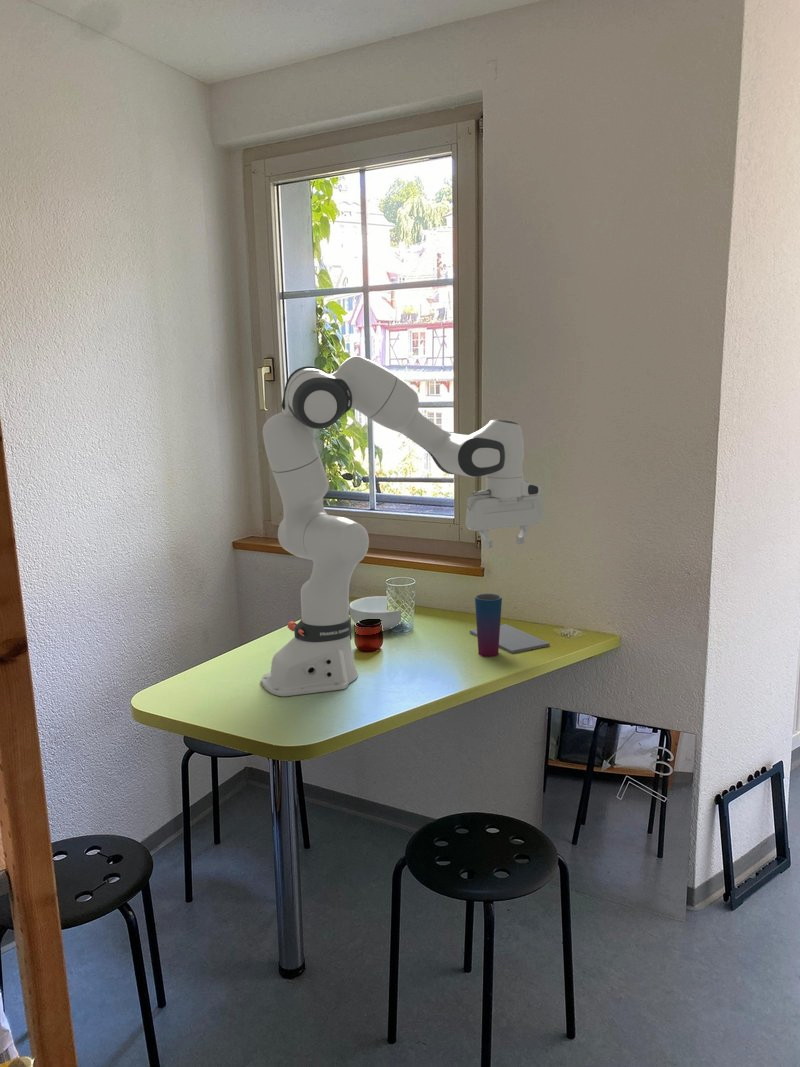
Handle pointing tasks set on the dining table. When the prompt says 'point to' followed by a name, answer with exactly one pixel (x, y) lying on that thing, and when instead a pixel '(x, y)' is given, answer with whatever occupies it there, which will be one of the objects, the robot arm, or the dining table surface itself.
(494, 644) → the cup
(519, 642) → the mat
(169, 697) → the dining table surface
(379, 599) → the cereal bowl
